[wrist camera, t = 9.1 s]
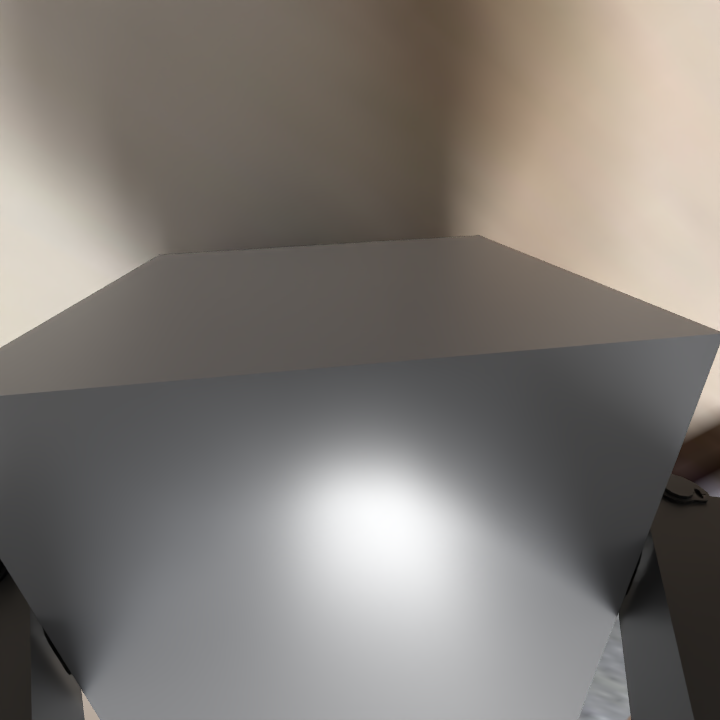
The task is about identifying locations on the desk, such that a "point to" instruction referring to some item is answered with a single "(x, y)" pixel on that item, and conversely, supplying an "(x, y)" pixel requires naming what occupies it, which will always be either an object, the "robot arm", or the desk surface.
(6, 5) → the desk surface
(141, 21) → the desk surface
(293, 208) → the desk surface
